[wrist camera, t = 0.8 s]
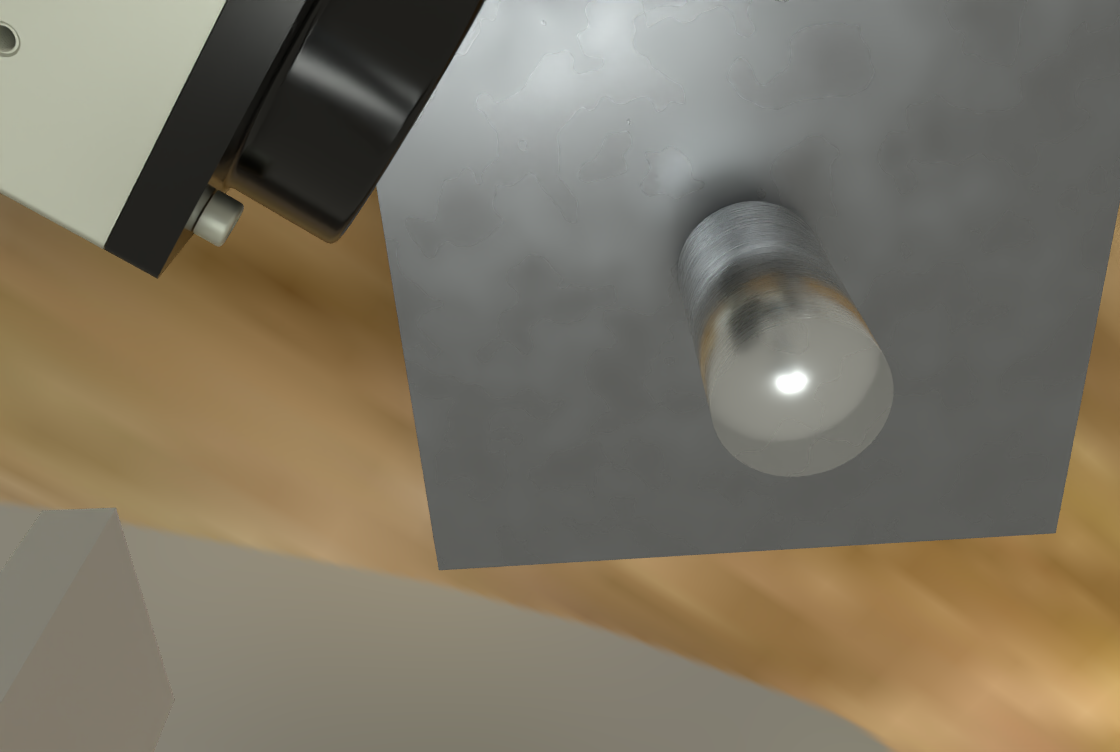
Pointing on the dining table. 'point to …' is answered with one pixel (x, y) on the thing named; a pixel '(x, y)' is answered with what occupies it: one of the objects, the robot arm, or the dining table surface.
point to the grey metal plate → (753, 272)
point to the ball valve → (211, 111)
